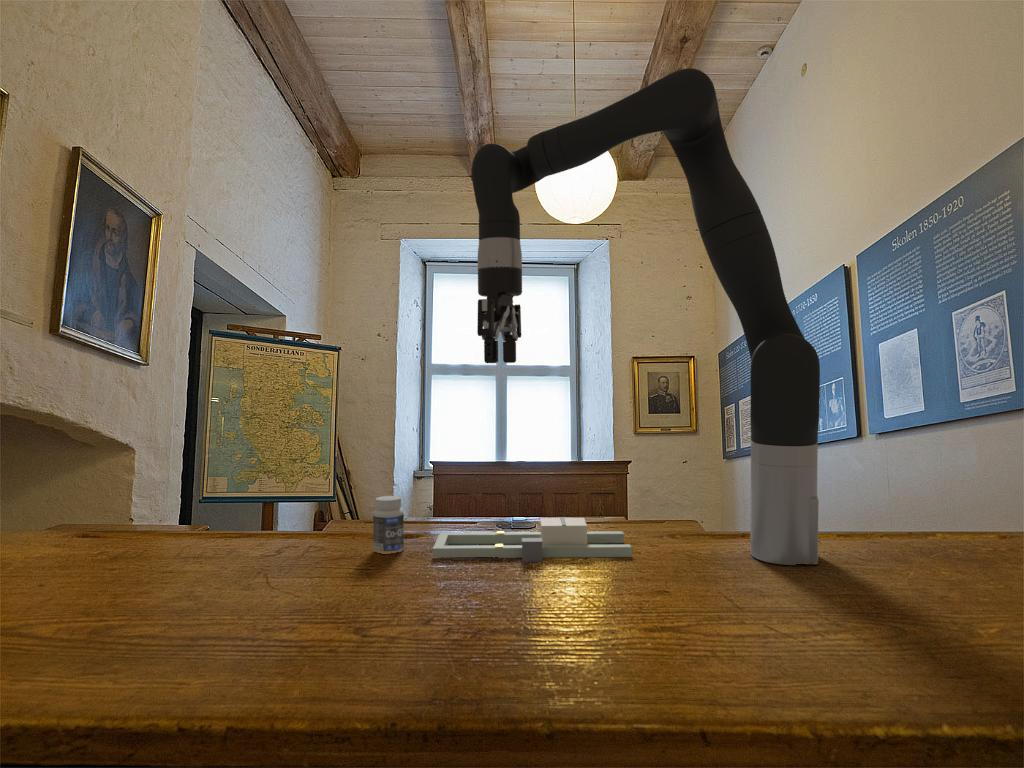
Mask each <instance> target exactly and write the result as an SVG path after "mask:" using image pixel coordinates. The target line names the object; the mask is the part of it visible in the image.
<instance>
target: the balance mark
mask: <svg viewBox="0 0 1024 768" xmlns="http://www.w3.org/2000/svg"><path fill="white" fill-rule="evenodd" d="M496 532H497V535H504V532H505V531H504V530H497V531H496ZM494 545H495V548H503V545H504V544H494Z"/></svg>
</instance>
